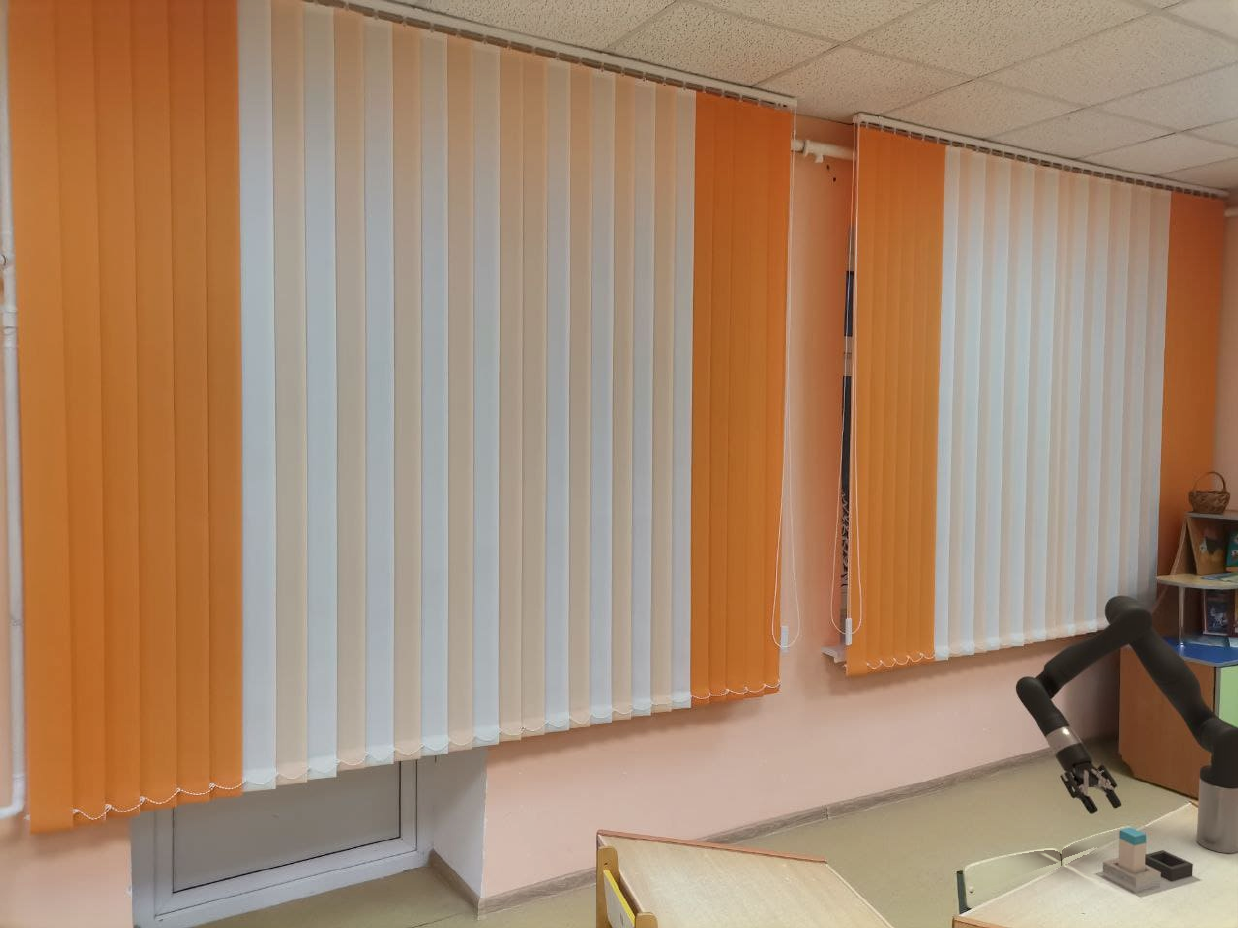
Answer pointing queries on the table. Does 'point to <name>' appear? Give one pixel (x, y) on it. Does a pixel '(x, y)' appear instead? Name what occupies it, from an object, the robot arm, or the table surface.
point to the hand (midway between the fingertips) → (1106, 809)
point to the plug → (1132, 850)
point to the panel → (1164, 885)
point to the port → (1131, 877)
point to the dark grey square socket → (1169, 865)
